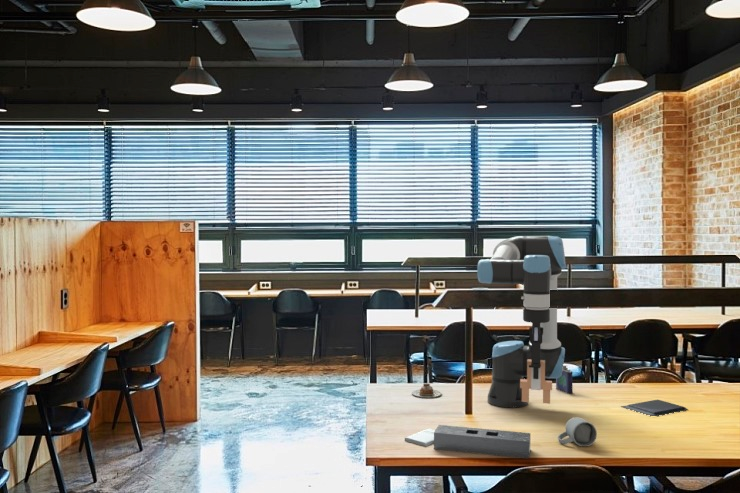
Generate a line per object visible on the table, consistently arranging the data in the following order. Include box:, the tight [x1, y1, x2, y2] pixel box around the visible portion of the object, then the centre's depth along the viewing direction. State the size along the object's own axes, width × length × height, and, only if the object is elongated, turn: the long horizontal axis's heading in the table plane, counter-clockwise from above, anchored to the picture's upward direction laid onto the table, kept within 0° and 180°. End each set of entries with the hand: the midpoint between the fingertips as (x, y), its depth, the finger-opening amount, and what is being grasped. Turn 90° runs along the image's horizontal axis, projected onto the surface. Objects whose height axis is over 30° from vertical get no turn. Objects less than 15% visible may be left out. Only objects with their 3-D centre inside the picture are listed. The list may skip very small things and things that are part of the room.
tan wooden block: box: [520, 359, 553, 405], centre depth 185 cm, size 3×9×12 cm, turn 74°
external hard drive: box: [404, 428, 436, 447], centre depth 201 cm, size 2×8×12 cm
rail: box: [433, 424, 531, 460], centre depth 191 cm, size 8×28×5 cm, turn 73°
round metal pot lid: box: [411, 383, 442, 399], centre depth 255 cm, size 12×12×5 cm
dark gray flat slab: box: [620, 399, 689, 417], centre depth 235 cm, size 20×2×15 cm
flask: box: [555, 364, 574, 395], centre depth 260 cm, size 9×3×11 cm, turn 21°
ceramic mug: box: [557, 416, 598, 447], centre depth 197 cm, size 11×8×8 cm
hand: (535, 387), depth 185 cm, fingers closed on tan wooden block, 3 cm apart
